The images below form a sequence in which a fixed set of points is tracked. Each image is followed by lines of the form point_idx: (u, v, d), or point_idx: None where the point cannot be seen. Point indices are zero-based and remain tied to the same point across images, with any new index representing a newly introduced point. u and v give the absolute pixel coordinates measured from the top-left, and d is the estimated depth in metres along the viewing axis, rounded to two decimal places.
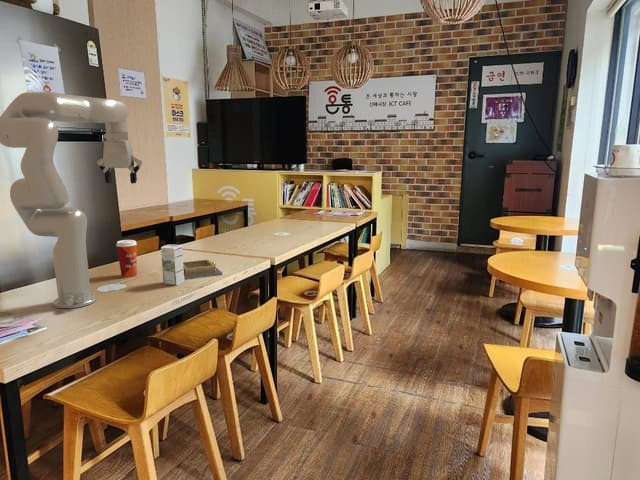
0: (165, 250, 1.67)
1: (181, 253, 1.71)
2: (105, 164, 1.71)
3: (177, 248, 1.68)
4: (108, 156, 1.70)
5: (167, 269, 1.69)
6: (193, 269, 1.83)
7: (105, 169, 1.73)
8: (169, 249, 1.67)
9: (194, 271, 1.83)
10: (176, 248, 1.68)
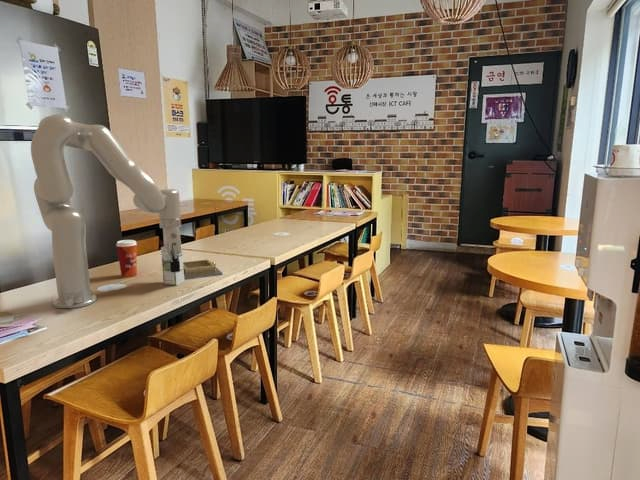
0: (165, 250, 1.67)
1: (181, 253, 1.71)
2: (181, 250, 1.67)
3: None
4: None
5: (167, 269, 1.69)
6: (193, 269, 1.83)
7: (178, 257, 1.67)
8: None
9: (194, 271, 1.83)
10: None
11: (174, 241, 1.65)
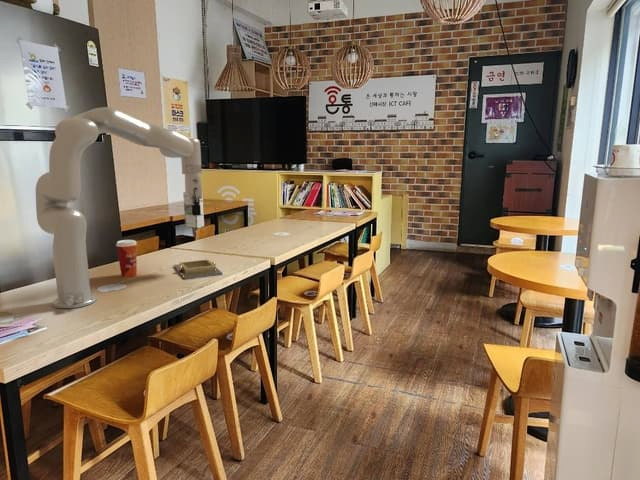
0: (187, 195, 1.81)
1: (201, 199, 1.85)
2: None
3: None
4: None
5: (188, 213, 1.82)
6: (193, 269, 1.83)
7: None
8: None
9: (194, 271, 1.83)
10: None
11: (195, 186, 1.78)
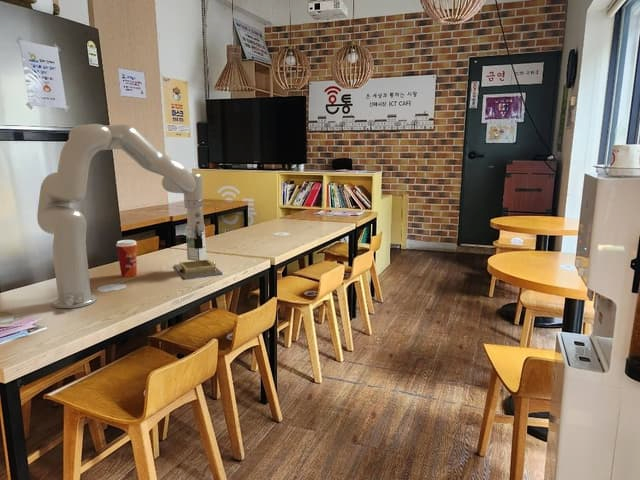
0: (189, 229, 1.84)
1: None
2: None
3: None
4: None
5: (191, 245, 1.85)
6: (193, 269, 1.83)
7: None
8: None
9: (194, 271, 1.83)
10: None
11: (198, 220, 1.81)
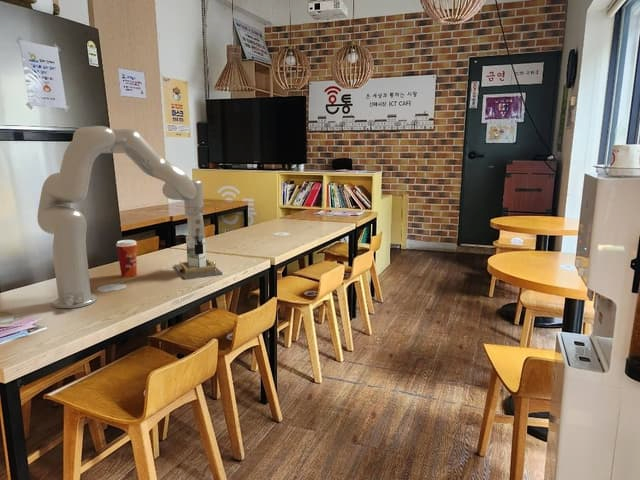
0: (190, 239, 1.84)
1: (204, 241, 1.88)
2: (204, 235, 1.85)
3: None
4: None
5: (191, 256, 1.86)
6: (193, 269, 1.83)
7: None
8: None
9: (194, 271, 1.83)
10: None
11: (198, 227, 1.82)
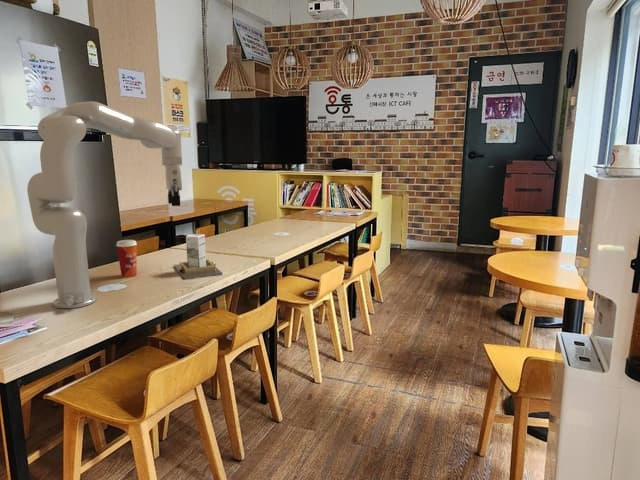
0: (190, 239, 1.84)
1: (204, 241, 1.88)
2: (181, 187, 1.81)
3: (201, 237, 1.85)
4: None
5: (191, 256, 1.86)
6: (193, 269, 1.83)
7: None
8: (193, 238, 1.84)
9: (194, 271, 1.83)
10: (200, 237, 1.85)
11: (175, 177, 1.78)
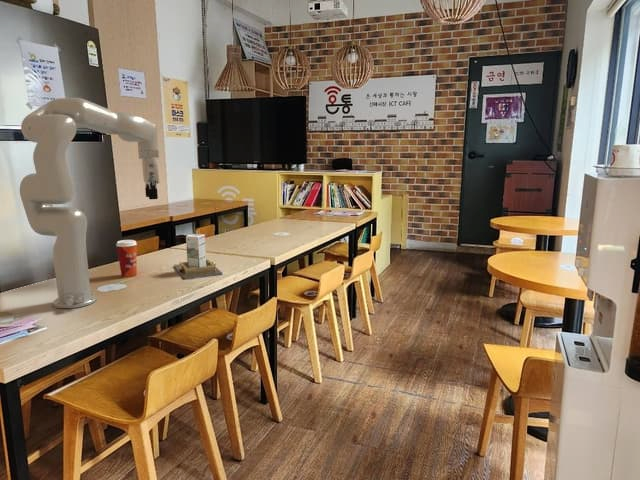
0: (190, 239, 1.84)
1: (204, 241, 1.88)
2: None
3: (201, 237, 1.85)
4: None
5: (191, 256, 1.86)
6: (193, 269, 1.83)
7: None
8: (193, 238, 1.84)
9: (194, 271, 1.83)
10: (200, 237, 1.85)
11: (152, 170, 1.78)
